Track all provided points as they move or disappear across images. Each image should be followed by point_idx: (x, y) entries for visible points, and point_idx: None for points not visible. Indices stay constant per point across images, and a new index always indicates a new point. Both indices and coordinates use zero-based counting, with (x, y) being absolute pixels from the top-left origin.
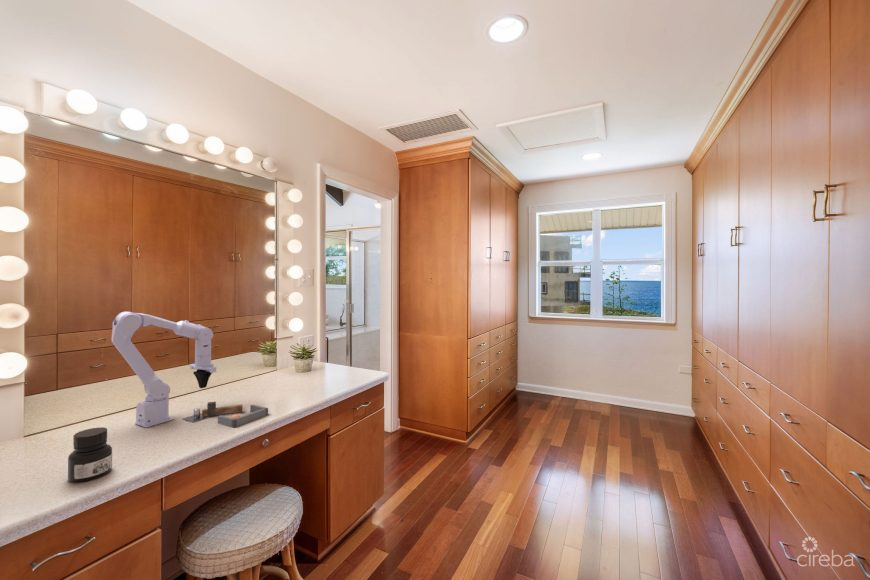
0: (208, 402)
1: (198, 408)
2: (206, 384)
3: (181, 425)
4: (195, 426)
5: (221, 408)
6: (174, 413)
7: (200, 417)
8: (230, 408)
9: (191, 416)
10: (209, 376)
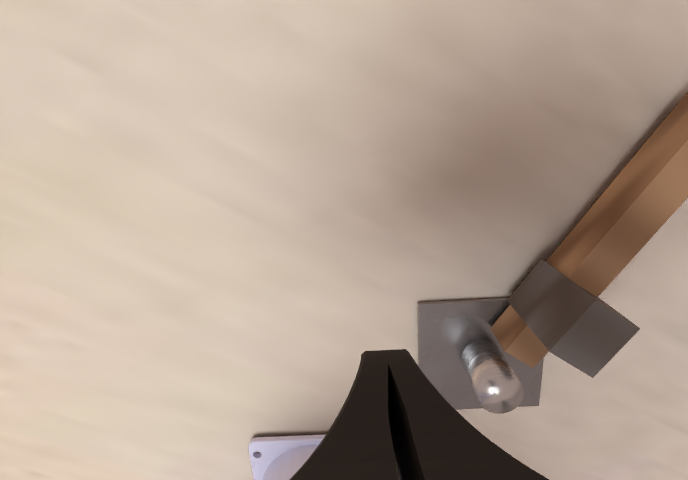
0: (555, 348)
1: (491, 379)
2: (417, 372)
3: (513, 449)
4: (607, 422)
5: (625, 260)
6: (254, 379)
7: None
8: (673, 202)
9: (431, 365)
10: (502, 456)
